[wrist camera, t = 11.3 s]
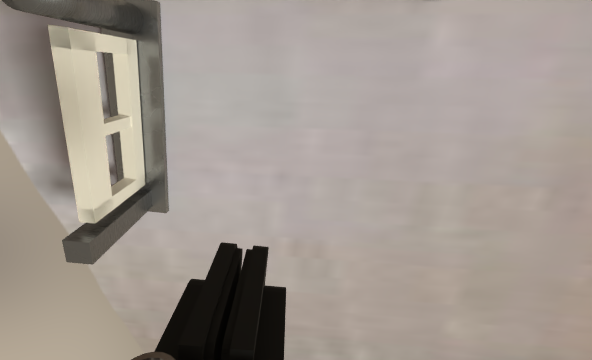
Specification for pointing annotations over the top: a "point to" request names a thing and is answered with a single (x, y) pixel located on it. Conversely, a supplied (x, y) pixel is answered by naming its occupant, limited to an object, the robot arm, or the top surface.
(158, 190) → the gate frame
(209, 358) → the robot arm
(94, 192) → the gate
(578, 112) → the top surface
